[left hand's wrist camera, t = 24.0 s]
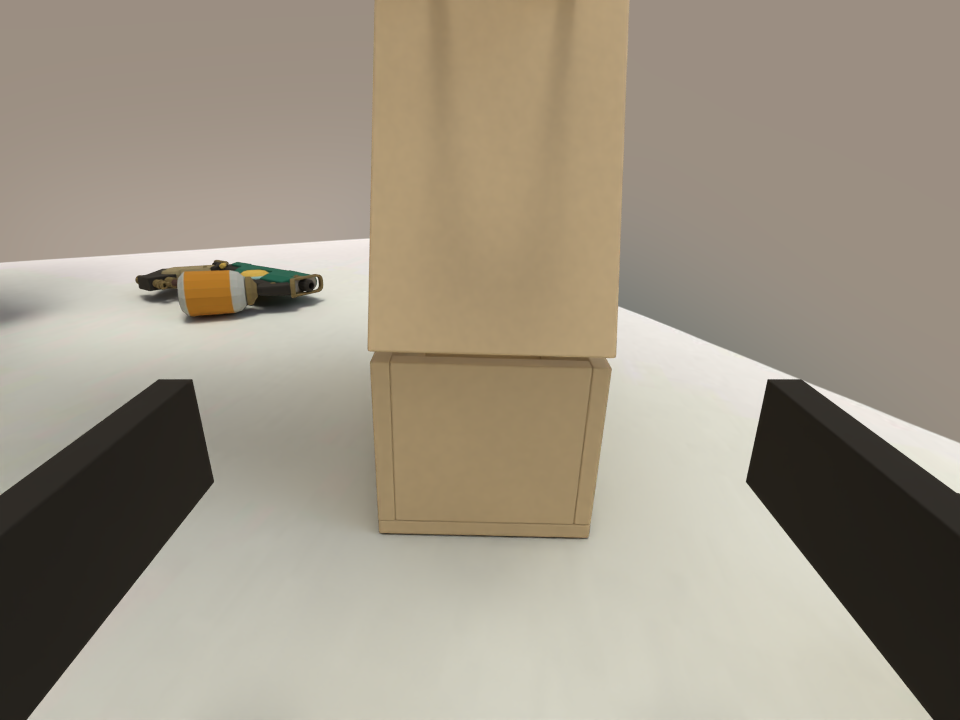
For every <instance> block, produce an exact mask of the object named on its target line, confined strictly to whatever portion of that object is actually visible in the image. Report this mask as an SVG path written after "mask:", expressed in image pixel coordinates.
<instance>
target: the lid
mask: <svg viewBox="0 0 960 720" xmlns="http://www.w3.org/2000/svg"><path fill="white" fill-rule="evenodd" d="M628 22H629V0H375V9H374V60H373V108H372V158H371V206H370V256H369V305H368V351H374V352H410V353H446V354H482V355H518V356H554V357H591V358H615V357H616V344H617V317H618V289H619V263H620V236H621V210H622V183H623V156H624V129H625V102H626V76H627V49H628Z"/></svg>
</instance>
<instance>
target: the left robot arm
mask: <svg viewBox="0 0 960 720" xmlns="http://www.w3.org/2000/svg"><path fill="white" fill-rule="evenodd" d="M213 483H214V479H213V474H212V470H211V465H210V460H209V456H208V451H207V446H206V442H205V437H204V432H203V427H202V423H201V418H200V413H199V409H198V404H197V399H196V395H195V390H194V385H193V381H192V379H159V380H157V381H156V382H155V383H153V384H152V385H150V386H149V387H148V388H146V389H145V390H144V391H142V392H141V393H140V394H138V395H137V396H135V397H134V398H133V399H131V400H130V401H129V402H127V403H126V404H124V405H123V406H122V407H120V408H119V409H118V410H116V411H115V412H114V413H112V414H111V415H109V416H108V417H107V418H105V419H104V420H103V421H101V422H100V423H98V424H97V425H96V426H94V427H93V428H92V429H90V430H89V431H88V432H86V433H85V434H83V435H82V436H81V437H79V438H78V439H77V440H75V441H74V442H73V443H71V444H70V445H68V446H67V447H66V448H64V449H63V450H62V451H60V452H59V453H57V454H56V455H55V456H53V457H52V458H51V459H49V460H48V461H47V462H45V463H44V464H42V465H41V466H40V467H38V468H37V469H36V470H34V471H33V472H32V473H30V474H29V475H27V476H26V477H25V478H23V479H22V480H21V481H19V482H18V483H16V484H15V485H14V486H12V487H11V488H10V489H8V490H7V491H6V492H4V493H3V494H1V495H0V720H27V719H28V717H29V716H30V715H31V713H32V712H33V711H34V710H35V708H36V707H37V706H38V705H39V703H40V702H41V701H42V700H43V698H44V697H45V696H46V694H47V693H48V692H49V691H50V689H51V688H52V687H53V686H54V684H55V683H56V682H57V681H58V679H59V678H60V677H61V675H62V674H63V673H64V672H65V670H66V669H67V668H68V667H69V665H70V664H71V663H72V661H73V660H74V659H75V658H76V656H77V655H78V654H79V653H80V651H81V650H82V649H83V648H84V646H85V645H86V644H87V642H88V641H89V640H90V639H91V637H92V636H93V635H94V634H95V632H96V631H97V630H98V628H99V627H100V626H101V625H102V623H103V622H104V621H105V620H106V618H107V617H108V616H109V615H110V613H111V612H112V611H113V609H114V608H115V607H116V606H117V604H118V603H119V602H120V601H121V599H122V598H123V597H124V595H125V594H126V593H127V592H128V590H129V589H130V588H131V587H132V585H133V584H134V583H135V582H136V580H137V579H138V578H139V576H140V575H141V574H142V573H143V571H144V570H145V569H146V568H147V566H148V565H149V564H150V563H151V561H152V560H153V559H154V557H155V556H156V555H157V554H158V552H159V551H160V550H161V549H162V547H163V546H164V545H165V543H166V542H167V541H168V540H169V538H170V537H171V536H172V535H173V533H174V532H175V531H176V530H177V528H178V527H179V526H180V524H181V523H182V522H183V521H184V519H185V518H186V517H187V516H188V514H189V513H190V512H191V510H192V509H193V508H194V507H195V505H196V504H197V503H198V502H199V500H200V499H201V498H202V497H203V495H204V494H205V493H206V491H207V490H208V489H209V488H210V486H211V485H212V484H213ZM746 483H747V484H748V485H749V486H750V488H751V489H752V490H753V491H754V493H755V494H756V495H757V497H758V498H759V499H760V500H761V502H762V503H763V504H764V505H765V507H766V508H767V509H768V510H769V512H770V513H771V514H772V516H773V517H774V518H775V519H776V521H777V522H778V523H779V524H780V526H781V527H782V528H783V530H784V531H785V532H786V533H787V535H788V536H789V537H790V538H791V540H792V541H793V542H794V543H795V545H796V546H797V547H798V549H799V550H800V551H801V552H802V554H803V555H804V556H805V557H806V559H807V560H808V561H809V563H810V564H811V565H812V566H813V568H814V569H815V570H816V571H817V573H818V574H819V575H820V576H821V578H822V579H823V580H824V582H825V583H826V584H827V585H828V587H829V588H830V589H831V590H832V592H833V593H834V594H835V595H836V597H837V598H838V599H839V601H840V602H841V603H842V604H843V606H844V607H845V608H846V609H847V611H848V612H849V613H850V615H851V616H852V617H853V618H854V620H855V621H856V622H857V623H858V625H859V626H860V627H861V628H862V630H863V631H864V632H865V634H866V635H867V636H868V637H869V639H870V640H871V641H872V642H873V644H874V645H875V646H876V648H877V649H878V650H879V651H880V653H881V654H882V655H883V656H884V658H885V659H886V660H887V661H888V663H889V664H890V665H891V667H892V668H893V669H894V670H895V672H896V673H897V674H898V675H899V677H900V678H901V679H902V681H903V682H904V683H905V684H906V686H907V687H908V688H909V689H910V691H911V692H912V693H913V694H914V696H915V697H916V698H917V700H918V701H919V702H920V703H921V705H922V706H923V707H924V708H925V710H926V711H927V712H928V713H929V715H930V716H931V717H932V719H933V720H960V494H959V493H956V492H954V491H953V490H952V489H950V488H949V487H948V486H946V485H945V484H944V483H942V482H941V481H939V480H938V479H937V478H935V477H934V476H933V475H931V474H930V473H928V472H927V471H926V470H924V469H923V468H922V467H920V466H919V465H918V464H916V463H915V462H913V461H912V460H911V459H909V458H908V457H907V456H905V455H904V454H903V453H901V452H900V451H898V450H897V449H896V448H894V447H893V446H892V445H890V444H889V443H887V442H886V441H885V440H883V439H882V438H881V437H879V436H878V435H877V434H875V433H874V432H872V431H871V430H870V429H868V428H867V427H866V426H864V425H863V424H862V423H860V422H859V421H857V420H856V419H855V418H853V417H852V416H851V415H849V414H848V413H846V412H845V411H844V410H842V409H841V408H840V407H838V406H837V405H836V404H834V403H833V402H831V401H830V400H829V399H827V398H826V397H825V396H823V395H822V394H820V393H819V392H818V391H816V390H815V389H814V388H812V387H811V386H810V385H808V384H807V383H805V382H804V381H803V380H801V379H768V381H767V385H766V390H765V395H764V399H763V404H762V409H761V413H760V418H759V423H758V427H757V432H756V437H755V442H754V446H753V451H752V456H751V460H750V465H749V470H748V474H747V479H746Z"/></svg>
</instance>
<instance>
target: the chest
mask: <svg viewBox="0 0 960 720" xmlns="http://www.w3.org/2000/svg"><path fill="white" fill-rule="evenodd" d="M611 371H612V369H611V367H610V365H609V363H608V361H607V359H606V358H591V357H554V356H518V355H482V354H446V353H410V352H375V353H374V355H373V357H372V359H371V361H370V372H371V391H372V409H373V428H374V447H375V466H376V485H377V504H378V519H379V532H380V533H404V534H448V535H492V536H535V537H579V538H587V537H588V536H589V530H590V523H591V516H592V508H593V501H594V494H595V487H596V479H597V472H598V465H599V458H600V451H601V443H602V436H603V429H604V422H605V414H606V407H607V400H608V393H609V385H610V378H611Z"/></svg>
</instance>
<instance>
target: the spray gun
mask: <svg viewBox="0 0 960 720" xmlns="http://www.w3.org/2000/svg"><path fill="white" fill-rule="evenodd" d="M228 264H229V263H228V262H227V261H220V260H215V261H214V263H213V264H212V265H204V266H187V267H173V268H169V269H161V270H158V271H155V272H153V273H150V274H147V275H139V276H137V277H136V283H137V284H139V288H140V289H144V290H148V291H154V290H160V289H162V290H164V289H176V288H177V289H178V299H179V303H180V307H181V309H182V311H183V312H184V313H186V314H187V315H188V316H200V315H213V314H226V313H236V312H239V311H242V310H243V309H244V308H245V307H246V306H247V303H248V305H253V304H254V303H255V300H256V299H257V297H258V295H260V296H270V295H291V298H296V297H298V296H302V295H307V294H312V293H316V292H320V291H321V290H322V289H323V279H322V276H321V275H318V274H313V275H310V274H305V273H300V272H295V271H290V270H289V271H287V270H281V269H275V268H268V267H262V266H256V265H251V264H247V263H241V262H236V263H233V264H229V265H228ZM316 277H318V280H319V287H318V289H316V290H313V289H314V288H315V287H316V285H317V280H316ZM303 291H307V292H303Z"/></svg>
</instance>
